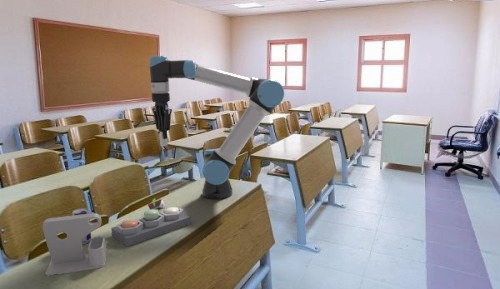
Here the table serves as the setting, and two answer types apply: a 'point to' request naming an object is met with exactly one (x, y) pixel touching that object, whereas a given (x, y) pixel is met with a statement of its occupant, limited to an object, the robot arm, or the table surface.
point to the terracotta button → (129, 224)
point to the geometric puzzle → (157, 205)
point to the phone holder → (73, 244)
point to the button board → (150, 227)
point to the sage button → (151, 215)
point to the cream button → (171, 210)
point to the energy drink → (85, 211)
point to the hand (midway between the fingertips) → (164, 145)
